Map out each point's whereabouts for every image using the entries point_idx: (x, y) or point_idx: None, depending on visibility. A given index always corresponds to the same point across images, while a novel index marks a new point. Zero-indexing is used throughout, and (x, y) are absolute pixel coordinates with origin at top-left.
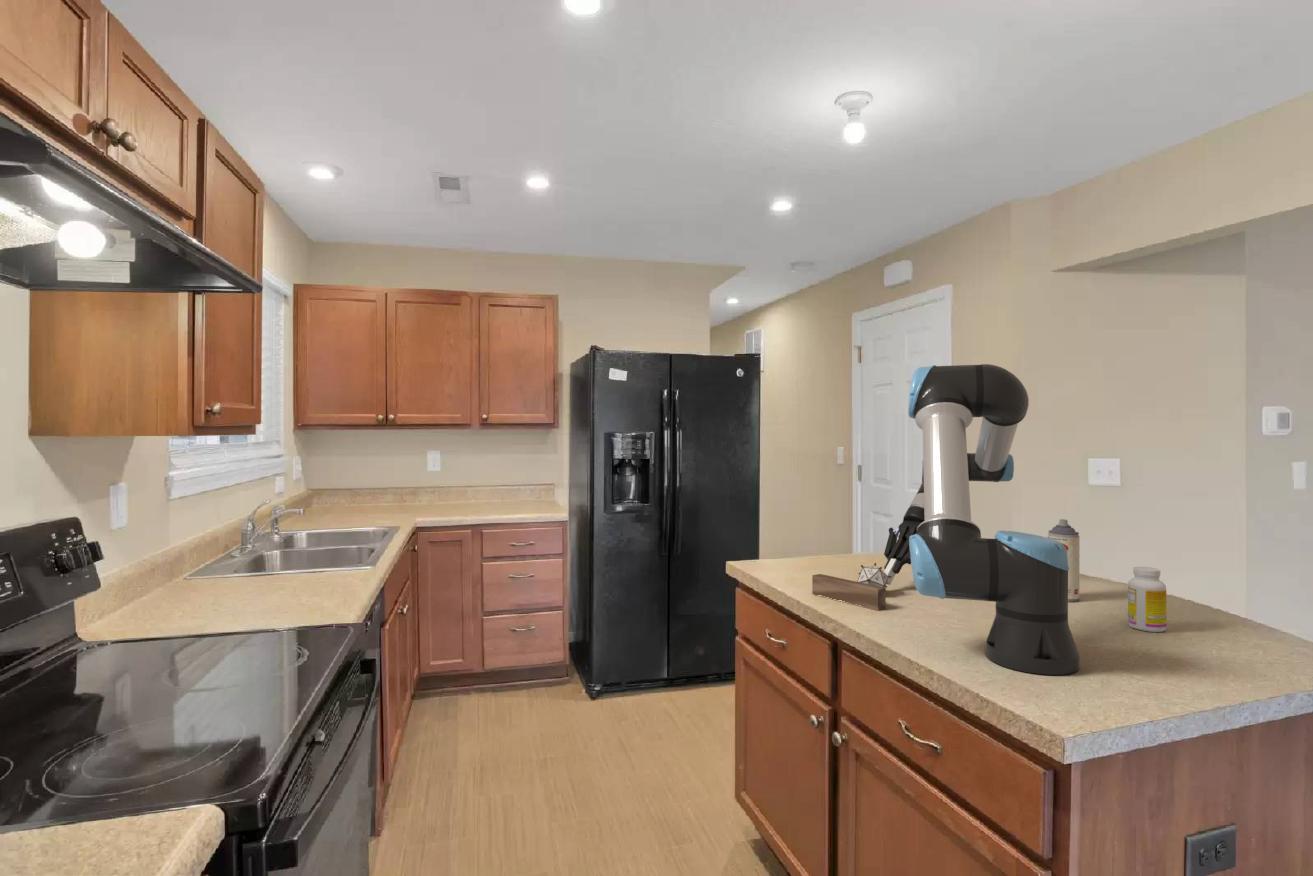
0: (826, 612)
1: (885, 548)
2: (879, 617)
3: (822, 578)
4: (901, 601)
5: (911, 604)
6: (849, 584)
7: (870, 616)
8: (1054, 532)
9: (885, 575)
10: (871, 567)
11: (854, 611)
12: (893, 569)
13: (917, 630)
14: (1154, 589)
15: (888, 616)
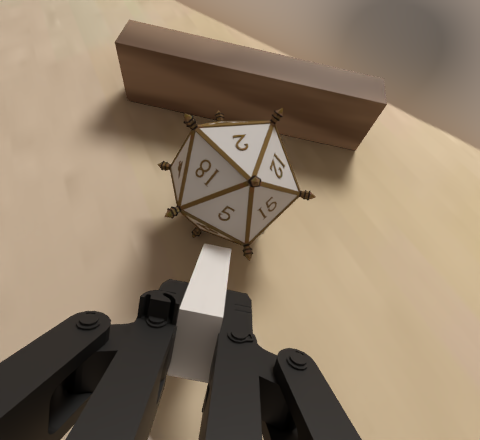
0: (230, 29)
1: (346, 415)
2: None
3: (340, 71)
4: (110, 194)
5: (68, 178)
6: (235, 47)
7: None
8: None
9: (182, 179)
10: (241, 134)
11: None
12: (184, 284)
13: (13, 4)
14: None
15: (99, 54)
